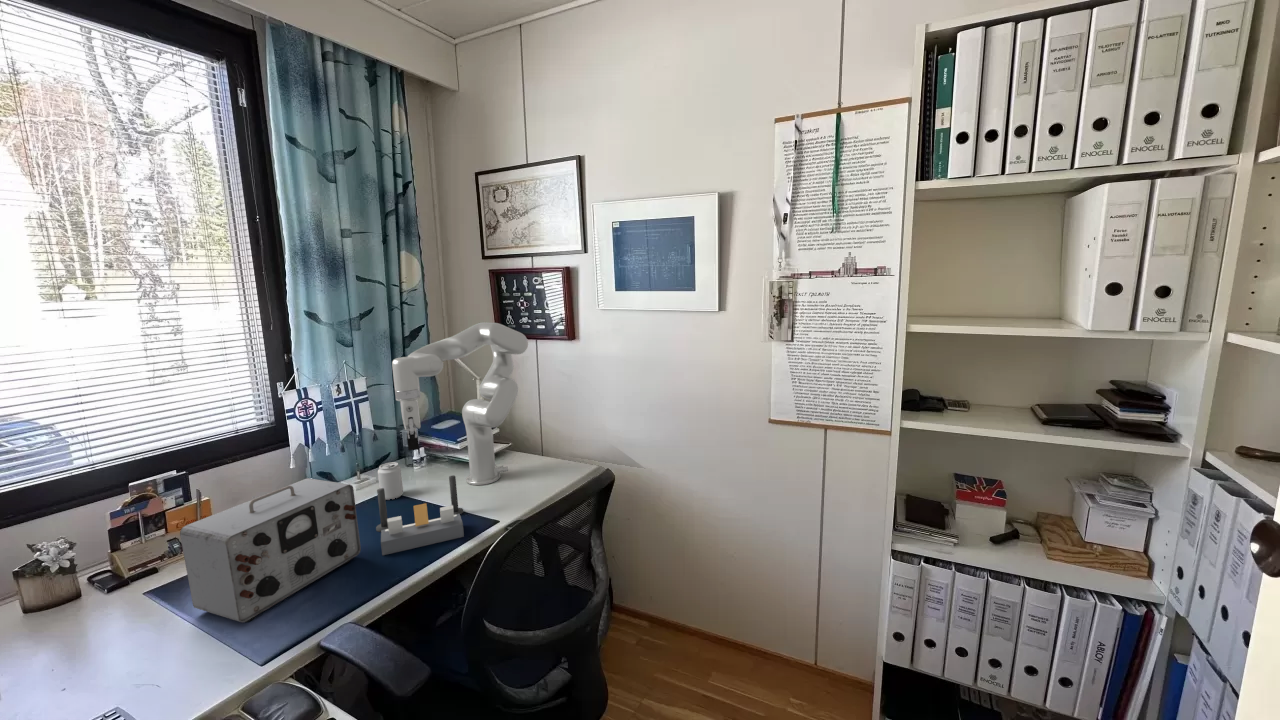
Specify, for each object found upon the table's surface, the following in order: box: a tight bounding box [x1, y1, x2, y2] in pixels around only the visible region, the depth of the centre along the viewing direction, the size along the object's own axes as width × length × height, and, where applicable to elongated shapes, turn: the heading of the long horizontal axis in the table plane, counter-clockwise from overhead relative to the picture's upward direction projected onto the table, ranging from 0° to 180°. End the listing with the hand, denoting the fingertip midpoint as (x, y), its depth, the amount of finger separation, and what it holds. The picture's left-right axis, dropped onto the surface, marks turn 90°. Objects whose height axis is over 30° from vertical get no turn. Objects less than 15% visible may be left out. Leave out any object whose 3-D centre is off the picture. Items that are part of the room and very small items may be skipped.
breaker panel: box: [380, 514, 465, 556], centre depth 151 cm, size 22×8×4 cm, turn 116°
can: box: [377, 461, 404, 501], centre depth 183 cm, size 8×8×12 cm
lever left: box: [387, 515, 403, 535], centre depth 146 cm, size 4×1×6 cm, turn 116°
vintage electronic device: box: [179, 477, 362, 623], centre depth 129 cm, size 32×18×25 cm, turn 160°
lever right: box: [439, 504, 454, 523], centre depth 152 cm, size 4×1×6 cm, turn 116°
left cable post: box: [375, 488, 388, 533], centre depth 158 cm, size 5×5×13 cm
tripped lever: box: [413, 502, 429, 527], centre depth 152 cm, size 4×1×6 cm, turn 116°
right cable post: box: [448, 475, 464, 515], centre depth 167 cm, size 5×5×13 cm
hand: (413, 446), depth 171 cm, fingers open, 5 cm apart
